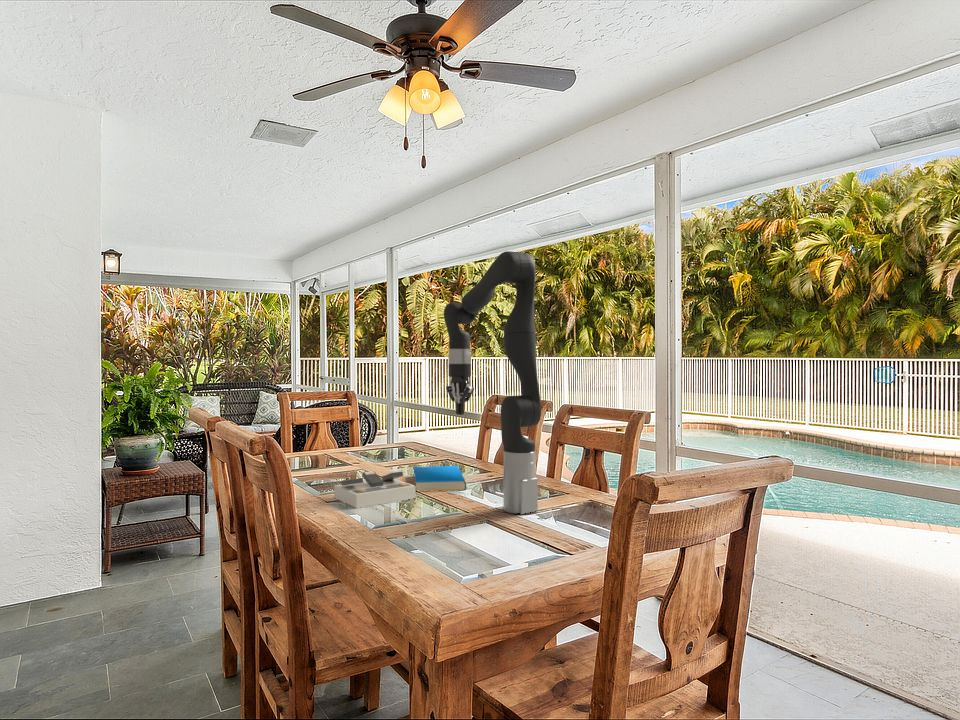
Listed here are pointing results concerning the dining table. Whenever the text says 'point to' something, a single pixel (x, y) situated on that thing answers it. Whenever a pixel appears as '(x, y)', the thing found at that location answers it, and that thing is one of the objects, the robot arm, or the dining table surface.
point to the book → (439, 478)
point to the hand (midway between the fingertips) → (460, 414)
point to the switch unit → (374, 493)
